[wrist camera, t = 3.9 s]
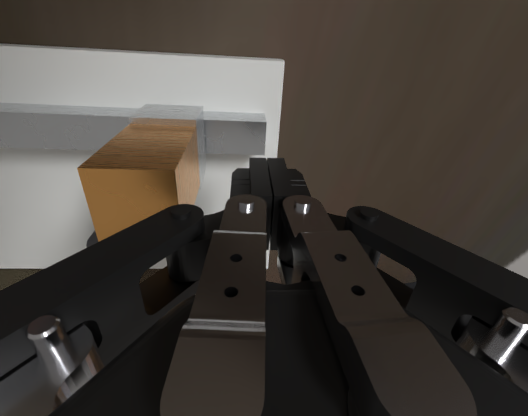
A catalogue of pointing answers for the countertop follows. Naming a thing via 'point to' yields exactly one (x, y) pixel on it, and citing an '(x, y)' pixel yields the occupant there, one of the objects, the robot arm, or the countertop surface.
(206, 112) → the rail and fixed leg
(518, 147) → the countertop surface
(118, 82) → the hole plate
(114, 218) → the block
